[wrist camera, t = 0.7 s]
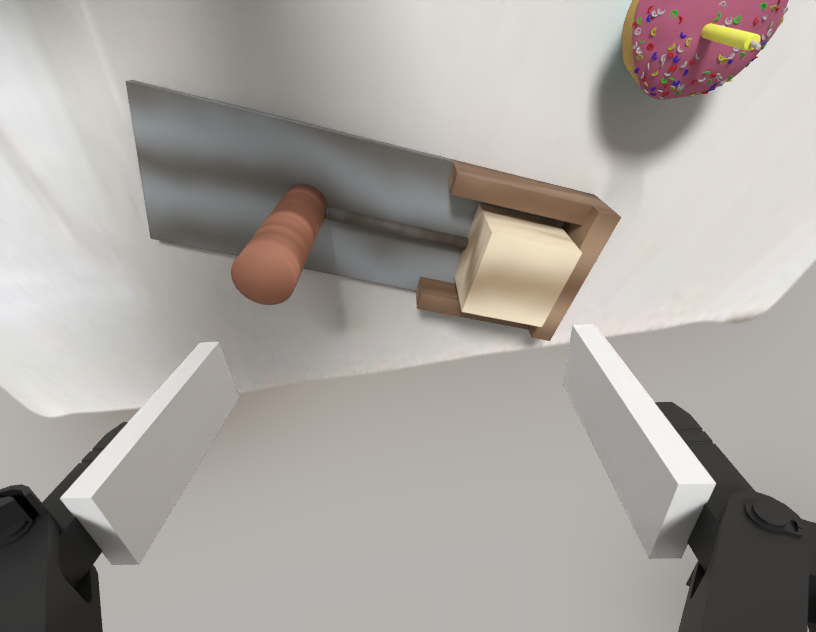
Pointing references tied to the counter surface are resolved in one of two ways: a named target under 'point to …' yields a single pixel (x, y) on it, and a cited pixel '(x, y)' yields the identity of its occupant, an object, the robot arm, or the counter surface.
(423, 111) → the counter surface
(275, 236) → the rod with end block
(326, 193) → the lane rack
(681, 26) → the cupcake
